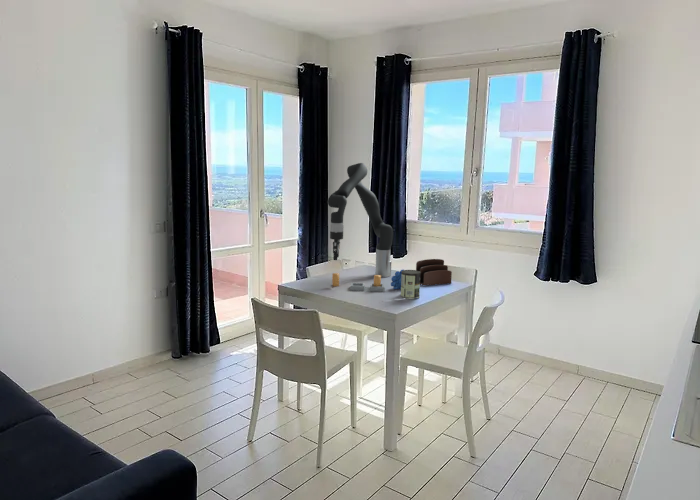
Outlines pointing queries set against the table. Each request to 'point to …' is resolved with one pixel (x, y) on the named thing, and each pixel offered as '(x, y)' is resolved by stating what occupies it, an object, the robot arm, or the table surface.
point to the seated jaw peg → (377, 280)
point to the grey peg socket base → (362, 287)
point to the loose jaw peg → (335, 279)
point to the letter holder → (433, 272)
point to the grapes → (396, 280)
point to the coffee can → (410, 284)
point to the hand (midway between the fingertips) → (336, 258)
